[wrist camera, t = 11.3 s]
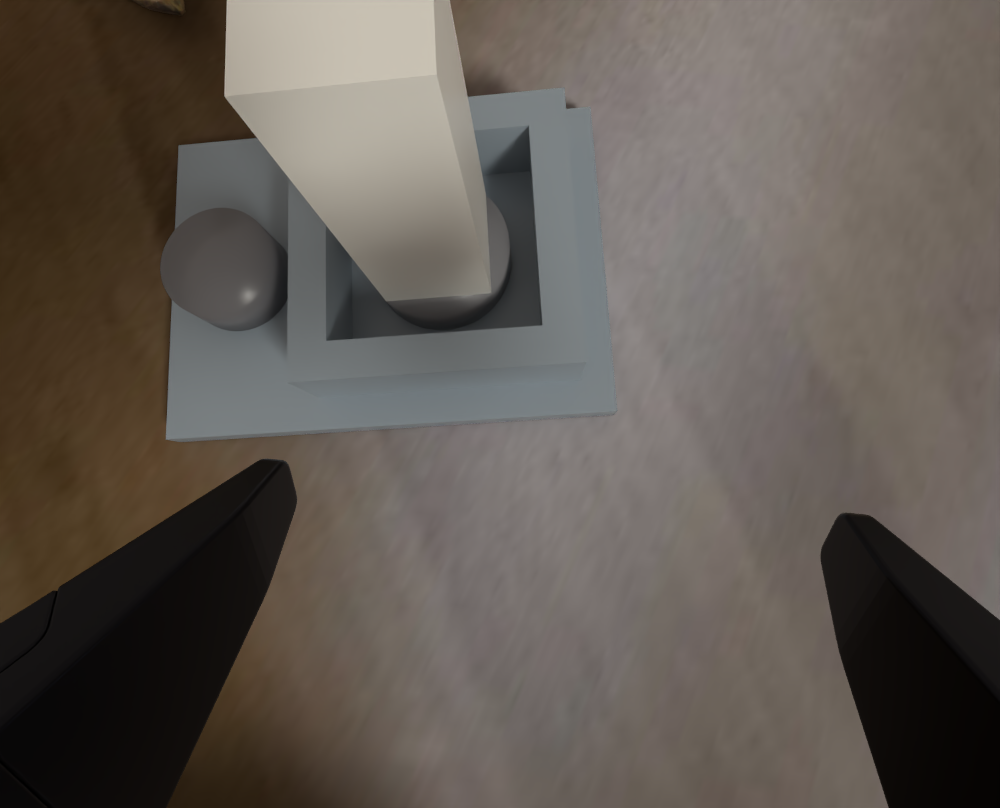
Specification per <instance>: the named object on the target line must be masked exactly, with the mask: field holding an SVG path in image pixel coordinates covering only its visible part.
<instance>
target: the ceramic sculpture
mask: <svg viewBox="0 0 1000 808" xmlns="http://www.w3.org/2000/svg"><path fill="white" fill-rule="evenodd" d="M132 1H134V2H136V3H137V4H139V5H141V6H142V7H145V8H147V9H150V10H153V11H158V12H164V13H168V14H174V15H180V16H182V15H183V14H185V5H184V0H132Z"/></svg>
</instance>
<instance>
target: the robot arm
mask: <svg viewBox="0 0 1000 808" xmlns="http://www.w3.org/2000/svg"><path fill="white" fill-rule="evenodd" d="M296 504H297V495H296V491H295V487H294V483H293V479H292V475H291V471H290V468H289V465H288V464H287V462H286V461H283V460H275V459H261V460H259V461H257V462H256V463H254V464H252V465H251V466H249V467H248V468H246V469H245V470H243V471H241V472H240V473H238V474H237V475H235V476H233V477H232V478H230V479H229V480H227V481H226V482H224V483H222V484H221V485H219V486H218V487H216V488H215V489H213V490H211V491H210V492H208V493H207V494H205V495H204V496H202V497H200V498H199V499H197V500H196V501H194V502H192V503H191V504H189V505H188V506H186V507H185V508H183V509H181V510H180V511H178V512H177V513H175V514H174V515H172V516H170V517H169V518H167V519H166V520H164V521H163V522H161V523H159V524H158V525H156V526H155V527H153V528H151V529H150V530H148V531H147V532H145V533H144V534H142V535H140V536H139V537H137V538H136V539H134V540H133V541H131V542H129V543H128V544H126V545H125V546H123V547H122V548H120V549H118V550H117V551H115V552H114V553H112V554H110V555H109V556H107V557H106V558H104V559H103V560H101V561H99V562H98V563H96V564H95V565H93V566H92V567H90V568H88V569H87V570H85V571H84V572H82V573H80V574H79V575H77V576H76V577H74V578H73V579H71V580H69V581H68V582H66V583H65V584H63V585H62V586H60V587H59V588H58V591H52V592H50V593H49V594H47V595H46V596H44V597H42V598H41V599H39V600H38V601H36V602H34V603H33V604H31V605H30V606H28V607H27V608H25V609H23V610H22V611H20V612H18V613H17V614H15V615H13V616H12V617H10V618H9V619H7V620H5V621H4V622H2V623H0V808H166V807H167V805H168V803H169V801H170V799H171V797H172V794H173V792H174V790H175V788H176V786H177V784H178V782H179V779H180V777H181V775H182V773H183V771H184V769H185V767H186V764H187V762H188V760H189V758H190V756H191V754H192V752H193V749H194V747H195V745H196V743H197V741H198V739H199V737H200V734H201V732H202V730H203V728H204V726H205V724H206V722H207V720H208V717H209V715H210V713H211V711H212V709H213V707H214V705H215V702H216V700H217V698H218V696H219V694H220V692H221V690H222V687H223V685H224V683H225V681H226V679H227V677H228V675H229V672H230V670H231V668H232V666H233V664H234V662H235V660H236V657H237V655H238V653H239V651H240V649H241V647H242V645H243V642H244V640H245V638H246V636H247V634H248V632H249V630H250V627H251V625H252V623H253V621H254V619H255V617H256V615H257V612H258V610H259V608H260V606H261V604H262V602H263V599H264V597H265V595H266V593H267V590H268V588H269V585H270V583H271V580H272V577H273V574H274V571H275V568H276V565H277V562H278V559H279V557H280V554H281V551H282V548H283V545H284V542H285V539H286V536H287V533H288V530H289V527H290V524H291V521H292V518H293V515H294V512H295V509H296ZM821 565H822V570H823V575H824V580H825V585H826V590H827V595H828V600H829V605H830V610H831V615H832V620H833V625H834V630H835V635H836V640H837V644H838V649H839V653H840V656H841V660H842V663H843V666H844V670H845V673H846V676H847V679H848V682H849V685H850V688H851V691H852V695H853V698H854V701H855V704H856V707H857V710H858V713H859V716H860V720H861V723H862V726H863V729H864V732H865V735H866V738H867V741H868V744H869V748H870V751H871V754H872V757H873V760H874V763H875V766H876V769H877V773H878V776H879V779H880V782H881V785H882V788H883V791H884V794H885V798H886V801H887V804H888V807H889V808H1000V620H999V619H998V618H997V617H995V616H994V615H993V614H992V613H990V612H989V611H988V610H987V609H985V608H984V607H983V606H982V605H981V604H979V603H978V602H977V601H976V600H974V599H973V598H972V597H971V596H969V595H968V594H967V593H966V592H965V591H963V590H962V589H961V588H960V587H958V586H957V585H956V584H955V583H953V582H952V581H951V580H950V579H948V578H947V577H946V576H945V575H944V574H942V573H941V572H940V571H939V570H937V569H936V568H935V567H934V566H932V565H931V564H930V563H929V562H928V561H926V560H925V559H924V558H923V557H921V556H920V555H919V554H918V553H916V552H915V551H914V550H913V549H912V548H910V547H909V546H908V545H907V544H905V543H904V542H903V541H902V540H900V539H899V538H898V537H897V536H896V535H894V534H893V533H892V532H891V531H889V530H888V529H887V528H886V527H884V526H883V525H882V524H881V523H879V522H878V521H877V520H876V519H874V518H873V517H871V516H869V515H865V514H855V513H842V514H840V515H839V516H838V517H837V518H836V520H835V522H834V524H833V526H832V528H831V530H830V532H829V534H828V536H827V538H826V540H825V542H824V544H823V546H822V549H821Z"/></svg>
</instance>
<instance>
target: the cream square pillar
mask: <svg viewBox="0 0 1000 808" xmlns="http://www.w3.org/2000/svg"><path fill="white" fill-rule="evenodd" d="M224 97H225V98H226V99H227V100H228V102H229V103H230V104H231V105H232V107H233V108H234V109H235V111H236V112H237V113H238V114H239V116H240V117H241V118H242V119H243V121H244V122H245V123H246V124H247V126H248V127H249V128H250V130H251V131H252V132H253V133H254V135H255V136H256V137H257V138H258V140H259V141H260V142H261V143H262V145H263V146H264V147H265V149H266V150H267V151H268V152H269V154H270V155H271V156H272V157H273V159H274V160H275V161H276V162H277V164H278V165H279V166H280V168H281V169H282V170H283V171H284V173H285V174H286V175H287V176H288V178H289V179H290V180H291V181H292V183H293V184H294V185H295V187H296V188H297V189H298V190H299V192H300V193H301V194H302V195H303V197H304V198H305V199H306V200H307V202H308V203H309V204H310V206H311V207H312V208H313V209H314V211H315V212H316V213H317V214H318V216H319V217H320V218H321V219H322V221H323V222H324V223H325V225H326V226H327V227H328V228H329V230H330V231H331V232H332V233H333V235H334V236H335V237H336V238H337V240H338V241H339V242H340V244H341V245H342V246H343V247H344V249H345V250H346V251H347V252H348V254H349V255H350V256H351V257H352V259H353V260H354V261H355V263H356V264H357V265H358V266H359V268H360V269H361V270H362V271H363V273H364V274H365V275H366V276H367V278H368V279H369V280H370V282H371V283H372V284H373V285H374V287H375V288H376V289H377V291H378V292H379V293H380V295H381V296H382V297H383V299H384V300H385V301H386V302H387V304H388V305H389V306H390V307H391V309H392V310H393V311H394V312H395V313H396V314H398V315H399V316H400V317H402V318H403V319H404V320H406V321H408V322H410V323H411V324H414V325H416V326H419V327H422V328H426V329H432V330H450V329H456V328H460V327H464V326H466V325H469V324H471V323H473V322H475V321H477V320H479V319H480V318H482V317H483V316H484V315H486V314H487V313H488V312H489V311H490V310H491V309H492V308H493V307H494V306H495V305H496V304H497V303H498V301H499V300H500V299H501V297H502V295H503V294H504V292H505V290H506V288H507V285H508V282H509V279H510V275H511V269H512V256H511V248H510V241H509V233H508V229H507V225H506V222H505V220H504V218H503V216H502V214H501V212H500V211H499V209H498V208H497V206H496V205H495V204H494V203H493V201H492V200H491V199H489V198H488V197H487V196H486V192H485V187H484V181H483V176H482V171H481V165H480V160H479V155H478V149H477V144H476V139H475V133H474V128H473V123H472V117H471V112H470V107H469V101H468V96H467V91H466V85H465V80H464V75H463V69H462V64H461V59H460V53H459V48H458V43H457V37H456V32H455V27H454V21H453V16H452V11H451V5H450V0H227V16H226V54H225V92H224Z"/></svg>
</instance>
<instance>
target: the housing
mask: <svg viewBox="0 0 1000 808" xmlns="http://www.w3.org/2000/svg"><path fill="white" fill-rule="evenodd" d="M468 101H469V107H470V112H471V117H472V123H473V128H474V133H475V139H476V144H477V149H478V155H479V160H480V165H481V171H482V176H483V181H484V187H485V192H486V196H487V197H488V198H489V199H491V200H492V201H493V203H494V204H495V205H496V206H497V208H498V209H499V211H500V212H501V214H502V216H503V218H504V220H505V222H506V225H507V229H508V233H509V241H510V248H511V256H512V269H511V275H510V279H509V282H508V285H507V288H506V290H505V292H504V294H503V295H502V297H501V299H500V300H499V301H498V303H497V304H496V305H495V306H494V307H493V308H492V309H491V310H490V311H489V312H488V313H487V314H486V315H484V316H483V317H482V318H480V319H479V320H477V321H475V322H473V323H471V324H469V325H466V326H464V327H460V328H456V329H450V330H432V329H426V328H422V327H419V326H416V325H414V324H411V323H410V322H408V321H406V320H404V319H403V318H402V317H400V316H399V315H398V314H396V313H395V312H394V311H393V310H392V309H391V307H390V306H389V305H388V304H387V302H386V301H385V300H384V299H383V297H382V296H381V295H380V293H379V292H378V291H377V289H376V288H375V287H374V285H373V284H372V283H371V282H370V280H369V279H368V278H367V276H366V275H365V274H364V273H363V271H362V270H361V269H360V268H359V266H358V265H357V264H356V263H355V261H354V260H353V259H352V257H351V256H350V255H349V254H348V252H347V251H346V250H345V249H344V247H343V246H342V245H341V244H340V242H339V241H338V240H337V238H336V237H335V236H334V235H333V233H332V232H331V231H330V230H329V228H328V227H327V226H326V225H325V223H324V222H323V221H322V219H321V218H320V217H319V216H318V214H317V213H316V212H315V211H314V209H313V208H312V207H311V206H310V204H309V203H308V202H307V200H306V199H305V198H304V197H303V195H302V194H301V193H300V192H299V190H298V189H297V188H296V187H295V185H294V184H293V183H292V181H291V180H290V179H289V178H288V176H287V175H286V174H285V173H284V171H283V170H282V169H281V168H280V166H279V165H278V164H277V162H276V161H275V160H274V159H273V157H272V156H271V155H270V154H269V152H268V151H267V150H266V149H265V147H264V146H263V145H262V143H261V142H260V141H259V140H258V138H252V139H241V140H230V141H220V142H209V143H199V144H188V145H179V149H178V172H177V195H176V218H175V231H174V232H173V233H172V234H171V236H170V237H169V239H168V241H167V243H166V245H165V247H164V250H163V253H162V257H161V264H160V273H161V279H162V282H163V286H164V288H165V290H166V292H167V294H168V295H169V297H170V298H171V299H172V310H171V334H170V357H169V380H168V403H167V426H166V440H172V441H178V442H189V441H205V440H221V439H237V438H253V437H269V436H285V435H301V434H317V433H333V432H349V431H365V430H381V429H397V428H413V427H429V426H445V425H461V424H477V423H493V422H509V421H525V420H541V419H557V418H573V417H589V416H605V415H614V414H615V413H616V412H617V403H616V391H615V380H614V369H613V357H612V346H611V335H610V323H609V312H608V301H607V289H606V278H605V267H604V255H603V244H602V233H601V221H600V210H599V199H598V187H597V176H596V165H595V153H594V142H593V131H592V119H591V108H590V107H582V108H571V109H566V101H565V88H555V89H544V90H534V91H523V92H513V93H503V94H492V95H482V96H471V97H468Z"/></svg>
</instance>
